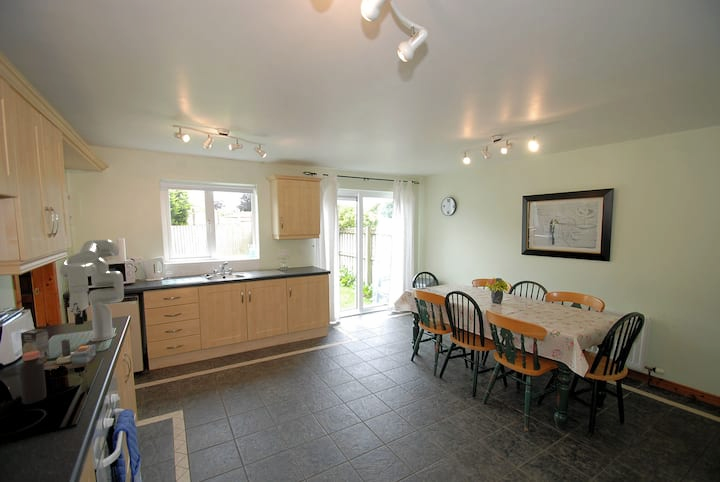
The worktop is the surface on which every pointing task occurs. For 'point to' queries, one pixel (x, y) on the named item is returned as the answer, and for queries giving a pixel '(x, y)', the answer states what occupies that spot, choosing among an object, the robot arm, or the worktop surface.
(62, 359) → the cream plate with knob
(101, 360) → the worktop surface
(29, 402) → the bottle
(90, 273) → the robot arm
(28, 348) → the coffee box
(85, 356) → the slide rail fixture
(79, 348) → the button
